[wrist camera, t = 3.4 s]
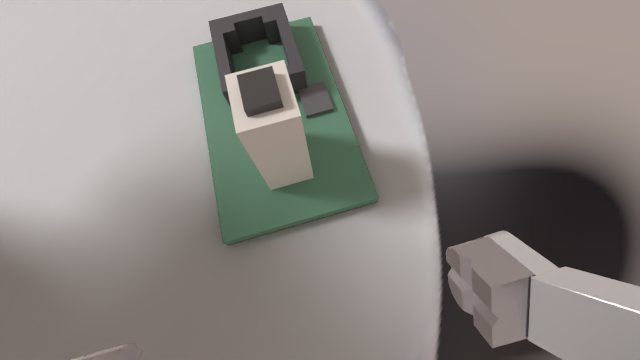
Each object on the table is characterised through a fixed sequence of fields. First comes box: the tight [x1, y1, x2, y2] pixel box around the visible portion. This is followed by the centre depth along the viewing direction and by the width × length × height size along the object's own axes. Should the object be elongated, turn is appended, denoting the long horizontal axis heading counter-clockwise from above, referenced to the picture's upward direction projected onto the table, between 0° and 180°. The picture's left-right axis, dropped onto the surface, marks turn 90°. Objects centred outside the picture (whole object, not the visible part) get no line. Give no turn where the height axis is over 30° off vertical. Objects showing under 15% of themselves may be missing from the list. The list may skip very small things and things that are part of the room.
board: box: [193, 3, 378, 245], centre depth 26 cm, size 20×12×4 cm, turn 16°
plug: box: [225, 60, 314, 190], centre depth 20 cm, size 5×4×9 cm
